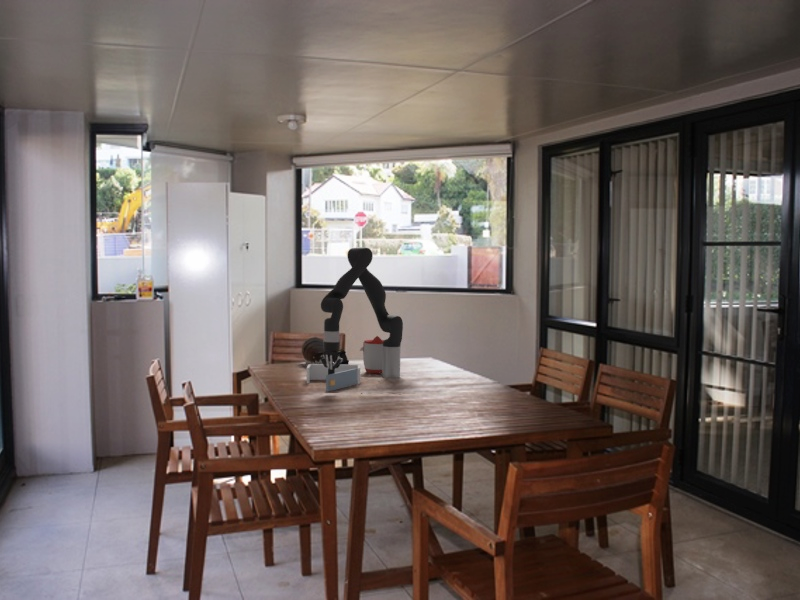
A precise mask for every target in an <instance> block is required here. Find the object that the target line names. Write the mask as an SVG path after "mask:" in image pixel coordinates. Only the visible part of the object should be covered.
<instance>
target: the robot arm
mask: <svg viewBox="0 0 800 600" xmlns="http://www.w3.org/2000/svg"><path fill="white" fill-rule="evenodd" d="M347 260H348V263H349V265H350V266H351V268H350V269H348V271H346V272H345V273H344V274H343V275H341V277H340V278H339V279H338V280H337V282H336V284H335V285H334V287H333V288H332V289H331V290H330V291H329V292H328V293H327V294H325V296H324V297H323V299H322V300H321V303H320V308H321V311H322V312H323V313H327V314H331V315H330V317H327V318H325V319H324V321H323V329H324V330H323V341H324V353H323V354H324V355H322V356H320V360H321V361H322V363H323V365H324V367H326V368H328V375H329V374H333V373H335V368H338V367H339V366H340V364H341V363H342V361H343V360H344V359H343V358H341V357H340V354H339V350H341V349H340V348H341V347H340V346H341V345H340V343H341V342H340V341H341V340H340V338H341V335H340V322H341V317H342V313H343V312H344V311H343V309H344V303H343V301H342V300H343V299H345V298H346V297H347V295H349V294H348V293H349V292H350V291H351V288H352V287H353V285H354V283H355V282H357V280H359V282H360V284H361V286H362V288H363V290H364V292H365V295H366V297H367V298H368V301H369V302H370V304H371V307H372V309H373V311H374V314H375V317H376V320H377V323H378V325H379V326H378V327H380V330H381V331H382V332H384V333H389V337H388V338H386V339H383V340H384V341H383V362H382V374H381V375H382V378H386V379H398V378H401V345H402V340H403V332H404V331H403V329H404V323H403V319H402V317H401V316H400V315H393V314H390V313H388V311H387V308H386V306H385V305H386V304H385V303H386V299H387V298H386V297H387V294H386V291H385V288H384V285H383V283H382V282H381V281H380V280H379V279H378V278H377V277H376V276H375V275H374V274H373V273H371V271H370V270H369V269H368V267H369V265H370V264H371V263H372V261H373V252H372V250H371V249H370V248H369V247H365V246H364V247H363V246H362V247H361V246H360V247H359V246H358V247H351V248H349V250H348V251H347ZM336 361H337V362H336Z"/></svg>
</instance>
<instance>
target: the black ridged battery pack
mask: <svg viewBox="0 0 800 600" xmlns="http://www.w3.org/2000/svg"><path fill="white" fill-rule="evenodd" d="M346 353H347V351H345V350H344V349H343V348H341V349H340V350H339V354H340V357H341V358H343V359H344V360H343V361H342V363H341V364H342V365H350V364H349V363H350V360H349V359H348V357H347V354H346ZM336 362H337V361H336Z"/></svg>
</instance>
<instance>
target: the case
mask: <svg viewBox="0 0 800 600" xmlns="http://www.w3.org/2000/svg"><path fill="white" fill-rule="evenodd" d="M351 369H357V384H356V385H360V384H361V364H349V365H342V364H340V366H339V367H338V368H335V373H338V372H342V371H347V370H351ZM326 375H328V368H326V367H324V365H323V364H307V366H306V384H310V382H311V380H313V381H314V380H315V381H316V380H318V381H320V380H322V381H324V380H325V381H326Z"/></svg>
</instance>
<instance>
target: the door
mask: <svg viewBox="0 0 800 600" xmlns="http://www.w3.org/2000/svg"><path fill="white" fill-rule="evenodd" d="M355 385H358V384H357V369H351V370H347V371H342V372H338V373H333V374H329V375H326V380H325V392H331V391H335V390H338V389H343V388H346V387H351V386H355Z"/></svg>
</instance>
